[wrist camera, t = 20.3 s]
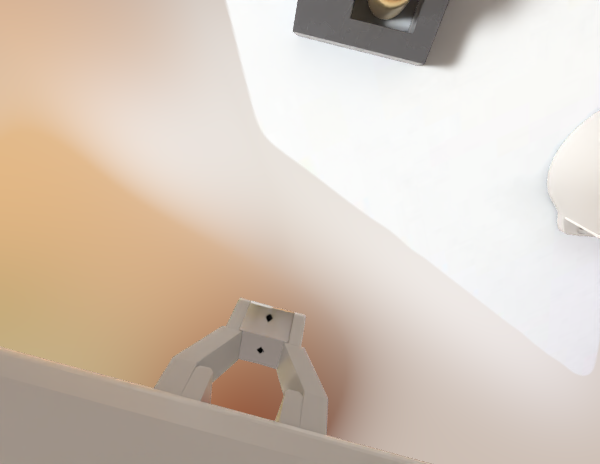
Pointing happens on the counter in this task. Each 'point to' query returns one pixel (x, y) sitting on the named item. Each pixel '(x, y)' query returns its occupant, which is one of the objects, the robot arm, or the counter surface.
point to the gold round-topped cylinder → (387, 7)
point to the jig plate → (370, 29)
